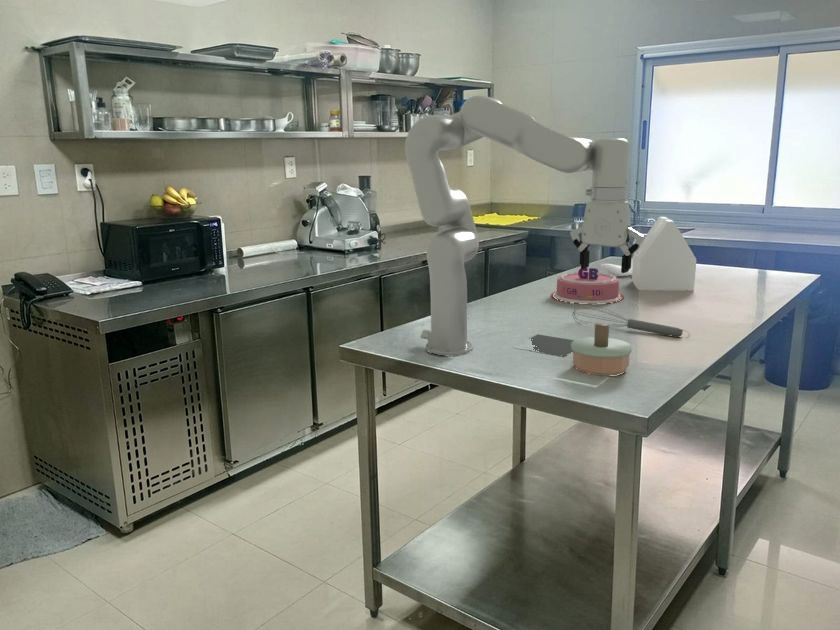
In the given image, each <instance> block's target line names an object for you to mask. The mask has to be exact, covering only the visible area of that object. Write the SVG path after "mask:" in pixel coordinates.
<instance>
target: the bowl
mask: <svg viewBox="0 0 840 630" xmlns="http://www.w3.org/2000/svg"><path fill="white" fill-rule="evenodd" d="M572 364H573V365H574V368H575V367H576V368H577V369H578V370H577V369H576V368H575V369H576V370H577V371H579V370H580V371H579V372H581V371H582V373H583V372H585V373H584V374H587V373H590V374H589V375H592V374H595V375H594V376H600V375H617V374H620V373H623V372H625V371H626V372H627V368H628V367H630V366H629V365H630V354H628V355H625V356H621V357H612V358H601V357H592V356H586V355H582V354H579V353H576V352H574V351H573V352H572Z"/></svg>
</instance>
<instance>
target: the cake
mask: <svg viewBox="0 0 840 630" xmlns="http://www.w3.org/2000/svg"><path fill="white" fill-rule="evenodd" d="M619 291H620V280H619V278H618V277H617V276H616V275H613V274H610V273H607V272H606V273H604V272H599V269H598V268H596V267H587V268H584V269H581V267H580V268H579V269H578V271H573V272H567V273H564V274H561V275H560V276H558V277H557V279H556V291H554V292H552V293H551V294H550V298H551V299H553V300H555V301H557V299H558V302H560V300H563V301H561V303H565V302H564V301H566V302H567V303H566V304H570V302H574V304H573V305H579V303H588V304H590V305H589V306H592V305H591V304H597V303H606V305H611V303H610V302H613V304H617V302H618V303H621V302H622V300H623V301H624V299H625V296H624V295H623V294H621V293H619ZM554 293H555V295H554V297H556V298H557V299H555V298H554V297H553V294H554ZM621 297H622V299H621ZM620 299H621V300H620ZM618 300H620V301H621V302H620V301H618ZM616 301H617V302H616Z"/></svg>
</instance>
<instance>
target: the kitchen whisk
mask: <svg viewBox="0 0 840 630" xmlns="http://www.w3.org/2000/svg"><path fill="white" fill-rule="evenodd" d="M582 306H583V308H580V307H582ZM589 306H590V309H591V310H594V311H595V310H596V311H598V312H601V313H605V314H607V315H611V316H613V317H616V318H619V319H621V320H618V319H616V320H615V319H613V318H608V317H607V320H608V321H610V322H612V321H614V322H616V323H613V324H612V323H608V325H609V326H617V328H621V327H626V328H627V329H633V330H638V331H641V332H646V333H647V332H648V333H652V334H659V335H662V334H664V336H667V335H672V336H681V335H682V336H683V331H684V332H687V333H688V331H687V330H685V329H683V328H681V329H680V328H679V327H675V326H669V325H665V324H659V323H653V322H649V321H643V320H638V319H633V318H629V319H627V318H625V317H624V316H622V315H620V314H618V313H616V312H615V311H614V312H613V311H611V310H609V309H607V308H604V307H601V306H599V305H590V304H583V305H579V304H578V306H576V307H575V308H574V310H573V311H572V315H571V316H572V317H573V320H574V321H575V322H576V323H577V324H578V325H581V323H583V322H585V323H586V321H584V320H582V319H581V320H580V319H579V318H577V317H575V316H576V315H578V316H581V314H582V312H580V311H578V310H584V309H585V310H589ZM592 306H593V307H592ZM585 307H587V308H585ZM597 307H598V308H597ZM577 308H578V309H577ZM599 308H600V309H599ZM605 310H606V311H605ZM610 312H611V313H610ZM584 314H585V315H584ZM588 315H589V316H588ZM588 315H587V313H586V312H583V314H582V316H583V317H587V318H590V316H591V318H592V319H595V317H596V319H598V320H601V318H602V320H603V321H606V317H605V316H600V315H598V317H597V315H595V314H593V317H592V314H589V313H588ZM599 317H600V318H599ZM622 320H623V321H622ZM578 321H580V322H581V323H580V322H578ZM618 322H620V323H621V324H619V323H618ZM587 323H590V324H592V322H591V321H590V322H589V321H587ZM598 323H599V322H594V325H595V324H598ZM617 323H618V324H617ZM672 336H671V337H672ZM682 336H681V337H682ZM689 337H690V333H688V336H687V338H689Z"/></svg>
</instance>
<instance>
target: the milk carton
mask: <svg viewBox="0 0 840 630" xmlns="http://www.w3.org/2000/svg"><path fill="white" fill-rule="evenodd" d="M644 236H645V239H644V241H643V243H642V244H641V246H640V248H639V249H637V250H636V251H635V252H634V253H633V254H632V258H633V270H632V274H631V283H632V282H633V283H632V284H633V285H634V286H635V288H636V289H637V290H638V291H686V290H688V291H693V292H694V291H695V281H696V270H697V258H696V256H695V255H694V252H693V251H692V249H691V247H690V246H689V244H688V242H687V241H686V239H685V238H684V235H683V234H682V233H681V230H680V229H679V227H678V226H677V224H676V223H675V221H674V220H672V219H670V218H668V217H666V216H659V217H658V218H657V219H656V220H655V222H654V224H653V225H652V227H651V228H650V229H649V230H648V232H647V233H646V235H644ZM688 291H687V292H688Z"/></svg>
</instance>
